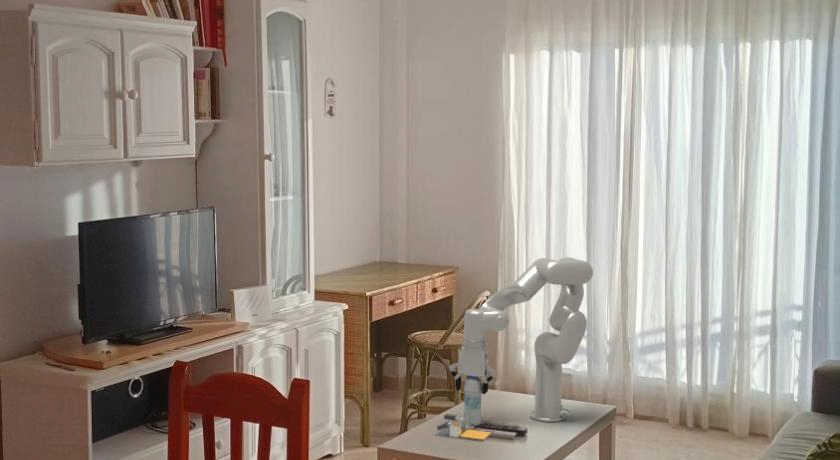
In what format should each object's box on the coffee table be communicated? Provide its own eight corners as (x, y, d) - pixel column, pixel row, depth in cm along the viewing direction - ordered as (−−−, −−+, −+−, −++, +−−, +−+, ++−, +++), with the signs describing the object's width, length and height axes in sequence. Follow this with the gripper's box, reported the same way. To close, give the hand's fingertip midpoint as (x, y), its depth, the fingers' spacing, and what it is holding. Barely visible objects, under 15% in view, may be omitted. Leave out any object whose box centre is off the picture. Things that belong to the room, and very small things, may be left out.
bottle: (483, 424, 369) (485, 369, 367) (478, 429, 362) (480, 374, 360) (465, 422, 371) (467, 368, 369) (460, 427, 365) (461, 372, 363)
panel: (493, 434, 357) (494, 419, 357) (482, 444, 345) (482, 428, 344) (447, 428, 363) (447, 413, 363) (434, 438, 351) (435, 422, 351)
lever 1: (452, 424, 352) (451, 420, 352) (450, 426, 350) (448, 422, 350) (440, 428, 354) (439, 425, 354) (437, 430, 352) (436, 427, 352)
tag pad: (491, 433, 355) (491, 432, 355) (483, 440, 347) (483, 439, 347) (467, 430, 358) (467, 429, 358) (459, 436, 350) (459, 436, 350)
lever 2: (459, 419, 360) (459, 415, 360) (457, 420, 357) (457, 417, 357) (446, 417, 362) (446, 413, 362) (443, 419, 359) (444, 415, 359)
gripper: (500, 345, 364) (497, 392, 366) (454, 339, 370) (452, 386, 372) (494, 348, 357) (491, 397, 359) (447, 343, 363) (445, 390, 365)
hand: (471, 391), depth 365 cm, fingers open, 9 cm apart
